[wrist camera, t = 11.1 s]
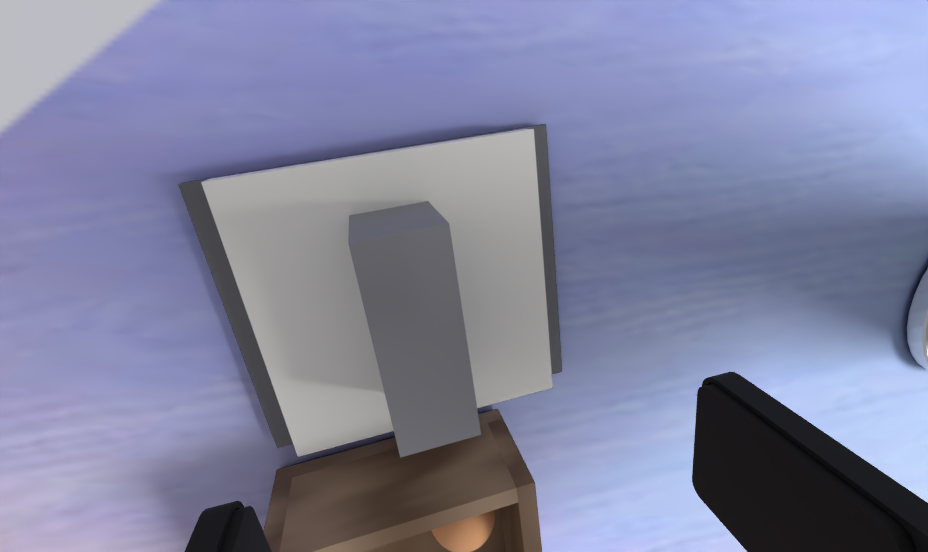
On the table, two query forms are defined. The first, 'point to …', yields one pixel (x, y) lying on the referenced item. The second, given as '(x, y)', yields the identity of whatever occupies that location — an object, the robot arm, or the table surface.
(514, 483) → the box
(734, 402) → the robot arm
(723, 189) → the table surface
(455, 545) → the orange ball
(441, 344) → the lid
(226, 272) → the mat
